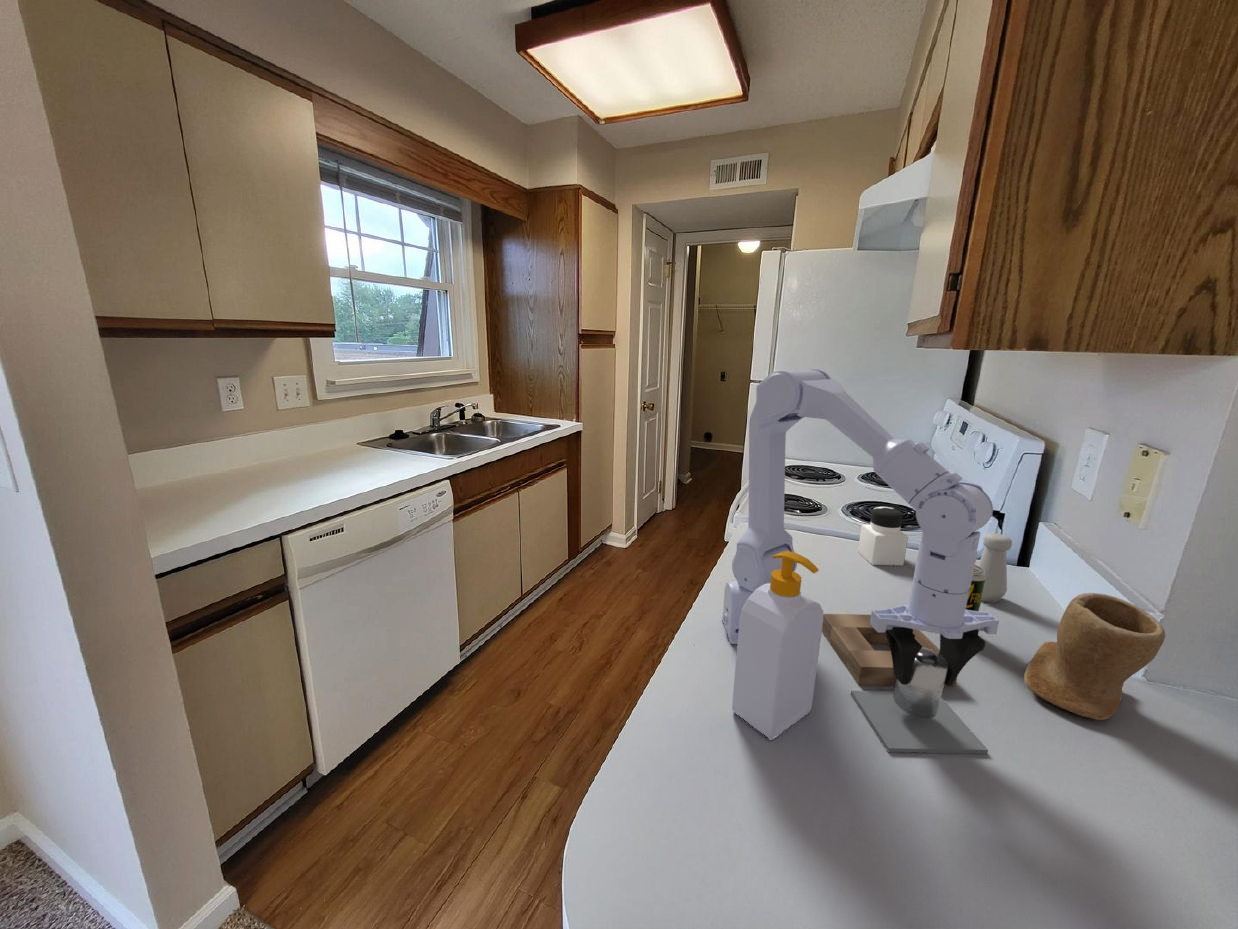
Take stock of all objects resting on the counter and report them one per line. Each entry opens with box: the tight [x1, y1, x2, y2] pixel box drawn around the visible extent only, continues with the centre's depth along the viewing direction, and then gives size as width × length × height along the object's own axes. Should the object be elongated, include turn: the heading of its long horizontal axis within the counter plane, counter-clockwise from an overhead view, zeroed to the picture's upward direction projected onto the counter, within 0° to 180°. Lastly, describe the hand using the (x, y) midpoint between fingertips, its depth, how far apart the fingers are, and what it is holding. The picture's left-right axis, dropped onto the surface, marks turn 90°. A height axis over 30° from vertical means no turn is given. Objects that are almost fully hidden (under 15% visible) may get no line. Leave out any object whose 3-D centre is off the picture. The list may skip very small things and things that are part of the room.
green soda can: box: [965, 564, 986, 612], centre depth 83 cm, size 5×5×12 cm
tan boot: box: [1023, 592, 1166, 721], centre depth 68 cm, size 15×12×15 cm
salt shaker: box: [977, 532, 1013, 604], centre depth 95 cm, size 6×6×13 cm
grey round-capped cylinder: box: [893, 647, 948, 718], centre depth 63 cm, size 5×5×8 cm
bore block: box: [822, 613, 958, 687], centre depth 77 cm, size 14×14×3 cm
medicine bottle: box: [857, 506, 909, 567], centre depth 111 cm, size 7×7×12 cm
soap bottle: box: [731, 551, 824, 740], centre depth 62 cm, size 9×7×23 cm
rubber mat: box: [850, 690, 989, 755], centre depth 64 cm, size 12×10×1 cm
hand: (922, 679), depth 63 cm, fingers closed on grey round-capped cylinder, 5 cm apart
